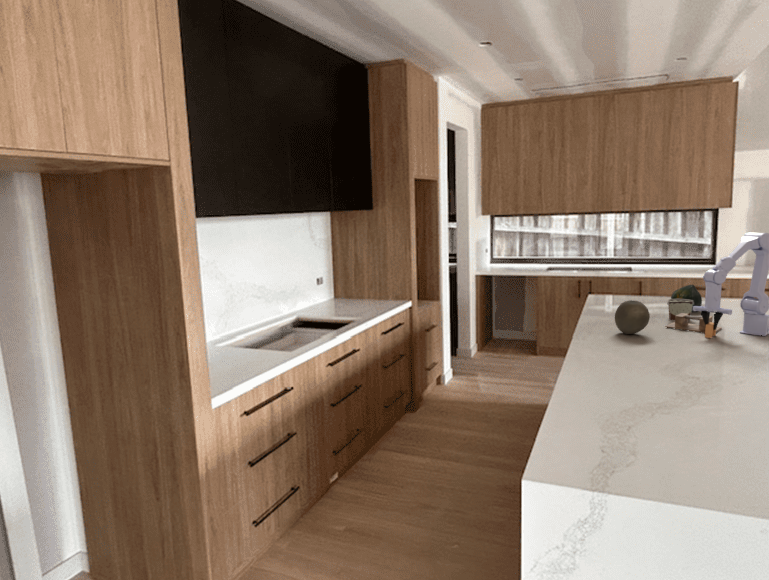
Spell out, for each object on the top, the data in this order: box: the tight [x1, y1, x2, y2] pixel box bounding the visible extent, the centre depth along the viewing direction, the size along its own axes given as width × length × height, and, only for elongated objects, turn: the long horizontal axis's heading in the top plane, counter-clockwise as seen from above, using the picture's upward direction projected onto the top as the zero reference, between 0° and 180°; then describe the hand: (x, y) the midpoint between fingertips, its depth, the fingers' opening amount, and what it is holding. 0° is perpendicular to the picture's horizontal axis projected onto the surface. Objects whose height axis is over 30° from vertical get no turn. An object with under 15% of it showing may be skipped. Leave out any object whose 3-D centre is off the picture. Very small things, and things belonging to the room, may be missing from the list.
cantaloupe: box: [614, 299, 651, 335], centre depth 245 cm, size 14×14×15 cm
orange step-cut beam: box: [704, 321, 717, 339], centre depth 239 cm, size 2×7×6 cm, turn 136°
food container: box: [666, 298, 694, 321], centre depth 276 cm, size 12×6×10 cm, turn 84°
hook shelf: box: [664, 313, 723, 334], centre depth 255 cm, size 20×13×6 cm, turn 46°
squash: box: [670, 284, 703, 312], centre depth 297 cm, size 14×15×15 cm
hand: (710, 329), depth 239 cm, fingers closed on orange step-cut beam, 2 cm apart
